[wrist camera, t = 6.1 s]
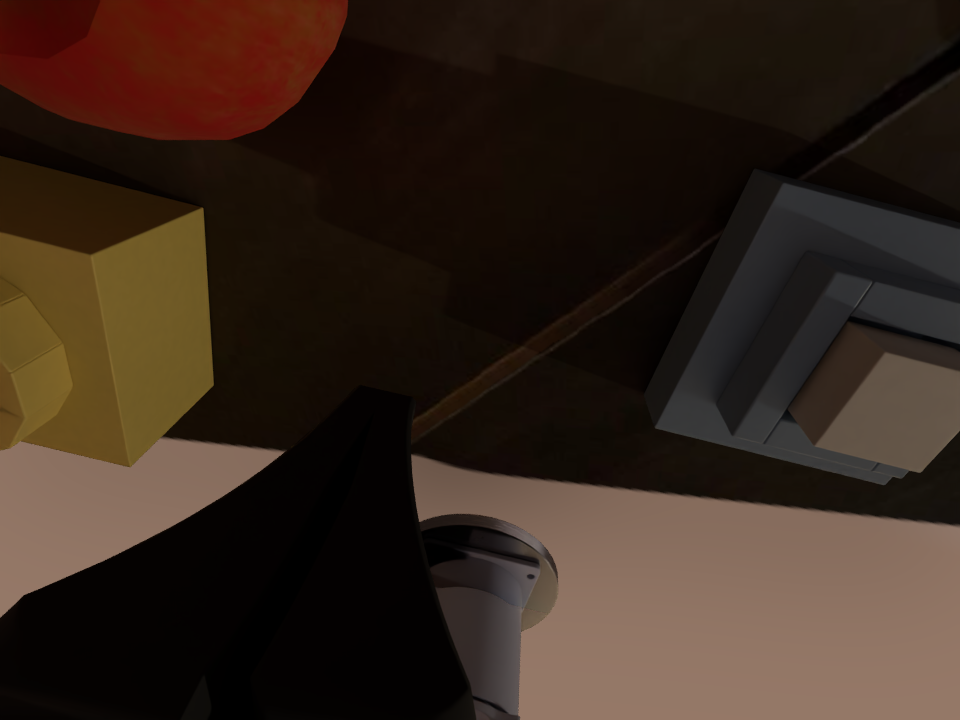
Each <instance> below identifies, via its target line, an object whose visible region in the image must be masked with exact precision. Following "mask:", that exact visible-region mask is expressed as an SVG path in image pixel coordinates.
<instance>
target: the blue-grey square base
mask: <svg viewBox="0 0 960 720" xmlns="http://www.w3.org/2000/svg"><path fill="white" fill-rule="evenodd" d="M847 321H851V322H855V323H858V324H862V325H866V326H870V327H874V328H878V329H882V330H886V331H890V332H893V333H897V334H901V335H905V336H909V337H913V338H917V339H921V340H924V341H928V342H932V343H936V344H940V345H944V346H948V347H952V348H955V349H956V350H958V351H959V352H960V223H959V222H955V221H952V220H948V219H944V218H940V217H936V216H933V215H929V214H925V213H921V212H918V211H914V210H910V209H906V208H903V207H899V206H895V205H891V204H887V203H884V202H880V201H876V200H872V199H869V198H865V197H861V196H857V195H854V194H850V193H846V192H842V191H838V190H835V189H831V188H827V187H823V186H820V185H816V184H812V183H808V182H805V181H801V180H797V179H793V178H789V177H786V176H782V175H778V174H774V173H771V172H767V171H763V170H759V169H754V170H753V172H752V174H751V176H750V178H749V180H748V182H747V184H746V186H745V188H744V190H743V192H742V194H741V196H740V199H739V201H738V203H737V205H736V207H735V209H734V211H733V213H732V215H731V217H730V219H729V221H728V223H727V225H726V227H725V229H724V231H723V233H722V235H721V237H720V239H719V242H718V244H717V246H716V248H715V250H714V252H713V254H712V256H711V258H710V260H709V262H708V264H707V266H706V268H705V270H704V272H703V274H702V276H701V278H700V280H699V282H698V284H697V287H696V289H695V291H694V293H693V295H692V297H691V299H690V301H689V303H688V305H687V307H686V309H685V311H684V313H683V315H682V317H681V319H680V321H679V323H678V325H677V327H676V330H675V332H674V334H673V336H672V338H671V340H670V342H669V344H668V346H667V348H666V350H665V352H664V354H663V356H662V358H661V360H660V362H659V364H658V366H657V368H656V370H655V373H654V375H653V377H652V379H651V381H650V383H649V385H648V387H647V389H646V391H645V393H644V396H645V399H646V402H647V405H648V409H649V412H650V415H651V418H652V421H653V424H654V427H655V428H657V429H661V430H665V431H669V432H673V433H677V434H681V435H685V436H689V437H693V438H697V439H701V440H705V441H709V442H713V443H717V444H721V445H725V446H729V447H733V448H737V449H741V450H746V451H750V452H754V453H758V454H762V455H766V456H770V457H774V458H778V459H782V460H786V461H790V462H794V463H798V464H802V465H806V466H810V467H814V468H818V469H822V470H826V471H830V472H834V473H838V474H842V475H846V476H850V477H854V478H858V479H862V480H866V481H870V482H874V483H878V484H882V485H885V484H886V483H887V482H888V481H889V480H890V479H891V478H892V476H893V477H897V478H903V477H904V476H905V474H906V473H907V472H908V471H909V470H907V469H903V468H899V467H895V466H891V465H887V464H883V463H879V462H875V461H871V460H867V459H863V458H859V457H855V456H851V455H847V454H843V453H839V452H835V451H831V450H827V449H823V448H819V447H815V446H813V444H812V443H811V441H810V440H809V439H808V437H807V436H806V434H805V433H804V432H803V430H802V429H801V427H800V426H799V425H798V423H797V422H796V421H795V419H794V418H793V416H792V415H791V414H790V412H789V411H788V407H789V406H790V404H791V403H792V401H793V400H794V398H795V397H796V395H797V394H798V392H799V391H800V390H801V388H802V387H803V385H804V384H805V382H806V381H807V379H808V378H809V376H810V375H811V373H812V372H813V371H814V369H815V368H816V366H817V365H818V363H819V362H820V360H821V359H822V357H823V356H824V354H825V353H826V352H827V350H828V349H829V347H830V346H831V344H832V343H833V341H834V340H835V338H836V337H837V335H838V334H839V332H840V331H841V330H842V328H843V327H844V325H845V324H846V322H847Z"/></svg>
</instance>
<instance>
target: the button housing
mask: <svg viewBox="0 0 960 720" xmlns="http://www.w3.org/2000/svg"><path fill="white" fill-rule="evenodd" d="M213 385H214V381H213V364H212V347H211V330H210V313H209V296H208V279H207V262H206V245H205V228H204V211H203V207H199V206H195V205H191V204H188V203H184V202H180V201H176V200H172V199H168V198H164V197H160V196H156V195H152V194H148V193H144V192H140V191H137V190H133V189H129V188H125V187H121V186H117V185H113V184H109V183H105V182H101V181H97V180H93V179H89V178H86V177H82V176H78V175H74V174H70V173H66V172H62V171H58V170H54V169H50V168H46V167H42V166H38V165H35V164H31V163H27V162H23V161H19V160H15V159H11V158H7V157H3V156H0V450H5V449H9V448H11V447H13V446H14V445H15V444H17V443H18V442H20V441H22V442H26V443H31V444H35V445H39V446H43V447H48V448H51V449H56V450H60V451H64V452H68V453H73V454H77V455H81V456H85V457H89V458H93V459H97V460H102V461H106V462H110V463H114V464H119V465H123V466H127V467H131V466H132V465H133V464H134V463H135V462H136V461H137V460H138V459H139V458H140V457H141V456H142V455H143V454H144V453H145V452H146V451H147V450H148V449H149V448H150V447H151V446H152V445H153V444H154V443H155V442H156V441H157V440H159V439H160V438H161V437H162V436H163V435H164V434H165V433H166V432H167V431H168V430H169V429H170V428H171V427H172V426H173V425H174V424H175V423H176V422H177V421H178V420H179V419H180V418H181V417H182V416H183V415H184V414H185V413H186V412H187V411H188V410H189V409H190V408H191V407H192V406H193V405H194V404H195V403H196V402H197V401H198V400H199V399H200V398H201V397H202V396H203V395H204V394H205V393H206V392H207V391H208V390H209V389H210V388H211V387H212V386H213Z"/></svg>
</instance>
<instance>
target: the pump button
mask: <svg viewBox="0 0 960 720" xmlns="http://www.w3.org/2000/svg"><path fill="white" fill-rule="evenodd" d="M788 411H789V412H790V414H791V415H792V416H793V418H794V419H795V421H796V422H797V423H798V425H799V426H800V427H801V429H802V430H803V432H804V433H805V434H806V436H807V437H808V439H809V440H810V441H811V443H812V444H813V446H815V447H819V448H823V449H827V450H831V451H835V452H839V453H843V454H847V455H851V456H855V457H859V458H863V459H867V460H871V461H875V462H879V463H883V464H887V465H891V466H895V467H899V468H903V469H907V470H911V471H915V472H919V473H920V472H921V471H922V470H923V469H924V468H925V467H926V466H927V465H928V464H929V463H930V462H931V461H932V460H933V459H934V458H935V456H936V455H937V454H938V453H939V452H940V451H941V450H942V449H943V448H944V447H945V446H946V445H947V444H948V443H949V441H950V440H951V439H952V438H953V437H954V436H955V435H956V434H957V433H958V432H959V431H960V352H959V351H958V350H956V349H955V348H952V347H948V346H944V345H940V344H936V343H932V342H928V341H924V340H921V339H917V338H913V337H909V336H905V335H901V334H897V333H893V332H890V331H886V330H882V329H878V328H874V327H870V326H866V325H862V324H858V323H855V322H851V321H847V322H846V324H845V325H844V327H843V328H842V330H841V331H840V332H839V334H838V335H837V337H836V338H835V340H834V341H833V343H832V344H831V346H830V347H829V349H828V350H827V352H826V353H825V354H824V356H823V357H822V359H821V360H820V362H819V363H818V365H817V366H816V368H815V369H814V371H813V372H812V373H811V375H810V376H809V378H808V379H807V381H806V382H805V384H804V385H803V387H802V388H801V390H800V391H799V392H798V394H797V395H796V397H795V398H794V400H793V401H792V403H791V404H790V406H789V407H788Z"/></svg>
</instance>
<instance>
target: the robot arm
mask: <svg viewBox="0 0 960 720" xmlns="http://www.w3.org/2000/svg"><path fill="white" fill-rule="evenodd" d="M415 406H416V401H415V400H414V399H413V397H410V396H405V395H401V394H397V393H392V392H388V391H384V390H379V389H375V388H371V387H366V386H362V385H359V386H358V387H356V388H354V389H353V390H352V392H351V393H350V394H349V395H348V396H347V397H346V398H345V399H344V400H343V401H342V402H341V403H340V404H339V405H338V406H337V407H336V408H335V409H334V410H333V411H332V412H331V413H330V414H329V415H328V416H326V417H325V418H324V419H323V420H322V421H321V422H320V423H319V424H318V425H317V426H315V427H314V428H313V429H312V430H311V431H310V432H309V433H307V434H306V435H305V436H304V437H303V438H302V439H301V440H299V441H298V442H297V443H296V444H295V445H293V446H292V447H291V448H290V449H288V450H287V451H286V452H284V453H283V454H282V455H281V456H279V457H278V458H277V459H276V460H274V461H273V462H272V463H270V464H269V465H268V466H267V467H265V468H264V469H263V470H261V471H260V472H258V473H257V474H255V475H254V476H253V477H251V478H250V479H249V480H247V481H246V482H244V483H243V484H241V485H240V486H238V487H237V488H235V489H234V490H232V491H231V492H229V493H228V494H226V495H224V496H223V497H222V498H220V499H218V500H216V501H215V502H213V503H212V504H210V505H208V506H206V507H205V508H203V509H201V510H200V511H198V512H196V513H195V514H193V515H191V516H190V517H188V518H186V519H185V520H183V521H181V522H179V523H177V524H176V525H174V526H172V527H170V528H168V529H166V530H164V531H162V532H160V533H158V534H156V535H155V536H153V537H151V538H149V539H147V540H145V541H143V542H141V543H139V544H137V545H135V546H133V547H131V548H129V549H127V550H125V551H123V552H121V553H119V554H117V555H115V556H113V557H111V558H109V559H107V560H105V561H103V562H100V563H98V564H96V565H93V566H91V567H89V568H86V569H84V570H82V571H80V572H77V573H75V574H73V575H70V576H68V577H66V578H64V579H61V580H59V581H57V582H54V583H52V584H50V585H47V586H45V587H43V588H41V589H38V590H36V591H33V592H31V593H28V594H26V595H24V596H23V597H22V598H21V599H20V600H19V601H18V602H17V603H16V604H15V605H14V606H13V607H11V609H9V610H8V611H7V612H6V613H5V614H4V615H3V616H2V617H1V618H0V720H520V717H519V716H518V704H519V673H520V643H521V642H520V641H521V614H522V611H523V609H524V607H525V605H526V603H527V601H528V598H529V596H530V594H531V592H532V590H533V588H534V585H535V583H536V581H537V579H538V577H539V575H540V566H539V565H538V564H537V563H534V562H529V561H525V560H521V559H517V558H513V557H509V556H504V555H500V554H496V553H492V552H488V551H484V550H479V549H475V548H471V547H467V546H463V545H458V544H454V543H450V542H446V541H442V540H438V539H433V538H426V539H424V541H423V539H422V534H421V530H420V525H419V519H418V514H417V508H416V502H415V494H414V486H413V477H412V464H411V463H412V462H411V428H412V422H413V417H414V411H415Z"/></svg>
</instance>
